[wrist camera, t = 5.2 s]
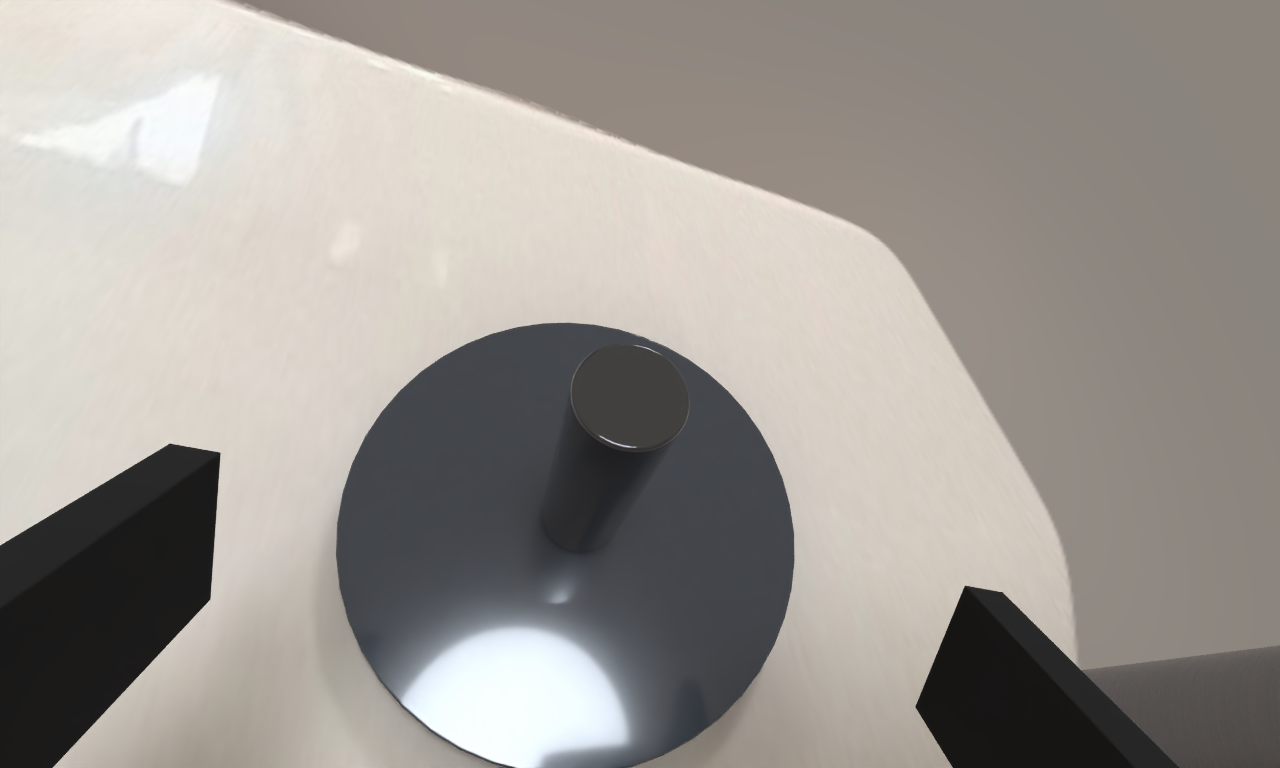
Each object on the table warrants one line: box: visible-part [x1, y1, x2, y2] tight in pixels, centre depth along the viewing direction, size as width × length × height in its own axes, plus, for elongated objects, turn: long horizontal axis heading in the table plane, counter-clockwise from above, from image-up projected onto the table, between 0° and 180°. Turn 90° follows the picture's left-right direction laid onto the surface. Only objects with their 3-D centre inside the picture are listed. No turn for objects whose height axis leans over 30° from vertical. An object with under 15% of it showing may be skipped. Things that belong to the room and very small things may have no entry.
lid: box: [336, 323, 794, 768], centre depth 18 cm, size 15×15×10 cm
